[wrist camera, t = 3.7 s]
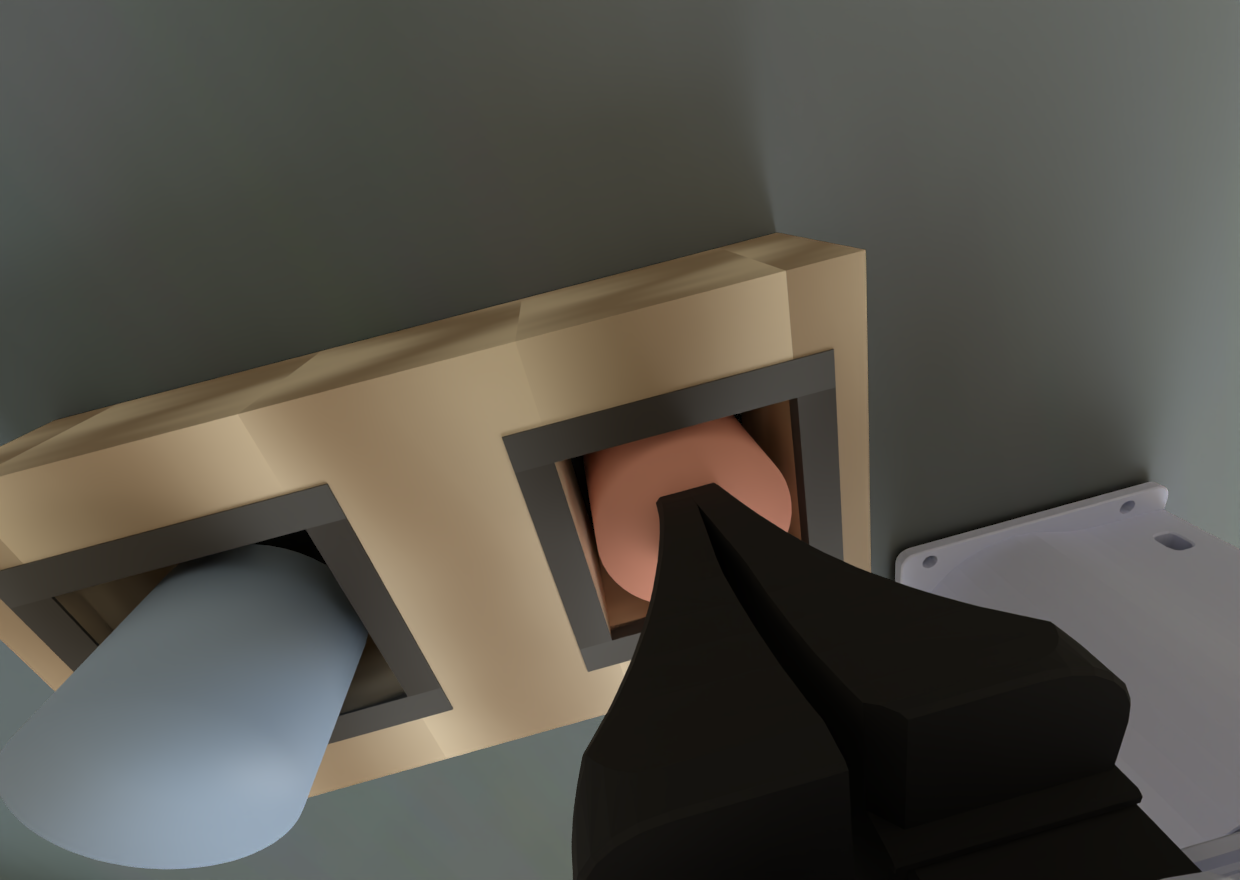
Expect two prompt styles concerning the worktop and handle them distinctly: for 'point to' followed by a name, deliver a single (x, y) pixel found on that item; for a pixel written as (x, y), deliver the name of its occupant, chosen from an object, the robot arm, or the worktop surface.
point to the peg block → (452, 485)
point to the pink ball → (673, 490)
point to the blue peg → (193, 716)
